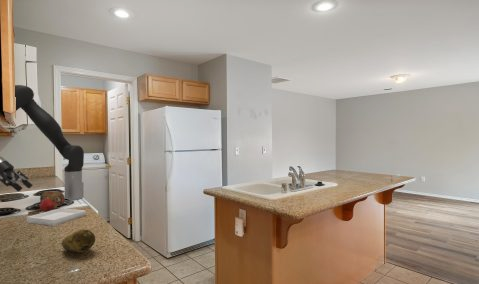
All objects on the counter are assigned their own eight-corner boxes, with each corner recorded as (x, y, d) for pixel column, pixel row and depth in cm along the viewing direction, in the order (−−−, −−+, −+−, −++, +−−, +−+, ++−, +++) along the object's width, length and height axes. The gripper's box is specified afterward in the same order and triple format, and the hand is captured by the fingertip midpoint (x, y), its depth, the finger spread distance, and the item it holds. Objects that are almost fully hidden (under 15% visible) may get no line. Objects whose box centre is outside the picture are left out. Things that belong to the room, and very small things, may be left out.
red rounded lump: (37, 213, 131) (37, 197, 130) (50, 210, 136) (50, 195, 136) (43, 215, 128) (43, 198, 128) (56, 212, 133) (56, 196, 133)
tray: (61, 213, 131) (61, 208, 131) (85, 215, 127) (85, 210, 127) (26, 222, 116) (26, 216, 116) (53, 226, 111) (53, 220, 111)
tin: (39, 205, 146) (39, 190, 146) (45, 204, 149) (45, 189, 149) (60, 207, 142) (59, 192, 142) (65, 206, 145) (65, 191, 145)
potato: (89, 243, 92) (89, 221, 92) (97, 256, 82) (97, 230, 82) (60, 250, 87) (60, 226, 87) (66, 264, 77) (66, 236, 77)
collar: (49, 209, 138) (49, 206, 138) (64, 211, 135) (64, 208, 135) (28, 214, 128) (28, 211, 128) (43, 216, 125) (43, 213, 125)
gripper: (-6, 161, 121) (23, 185, 123) (14, 159, 135) (39, 180, 137) (-19, 173, 120) (10, 197, 122) (2, 169, 134) (28, 191, 136)
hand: (25, 188), depth 130 cm, fingers open, 8 cm apart
